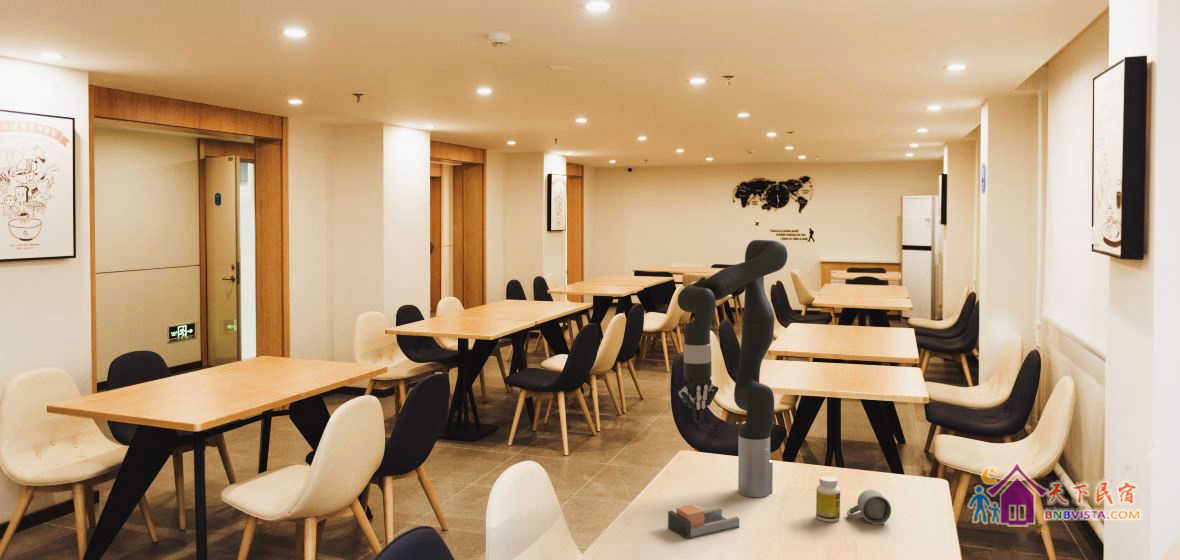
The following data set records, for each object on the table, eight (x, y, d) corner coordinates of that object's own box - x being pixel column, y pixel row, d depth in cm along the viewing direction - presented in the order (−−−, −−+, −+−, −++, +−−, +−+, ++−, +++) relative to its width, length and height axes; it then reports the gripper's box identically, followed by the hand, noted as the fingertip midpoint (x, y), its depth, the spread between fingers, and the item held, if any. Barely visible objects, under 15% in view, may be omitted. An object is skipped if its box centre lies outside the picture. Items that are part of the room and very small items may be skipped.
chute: (719, 516, 217) (719, 500, 216) (739, 527, 209) (739, 510, 209) (668, 528, 209) (668, 511, 208) (686, 539, 201) (686, 522, 201)
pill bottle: (840, 523, 211) (840, 483, 210) (815, 521, 213) (816, 481, 212) (839, 515, 217) (840, 476, 216) (816, 513, 219) (816, 474, 218)
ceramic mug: (883, 513, 218) (883, 486, 218) (891, 525, 210) (891, 496, 209) (843, 513, 219) (843, 486, 219) (850, 524, 211) (850, 496, 210)
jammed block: (691, 523, 210) (691, 504, 210) (704, 530, 206) (704, 511, 205) (676, 526, 208) (676, 508, 208) (688, 533, 203) (688, 514, 203)
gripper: (708, 355, 223) (709, 415, 224) (669, 360, 217) (671, 422, 218) (725, 359, 217) (726, 421, 218) (686, 364, 210) (687, 428, 211)
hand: (698, 422), depth 218 cm, fingers closed
